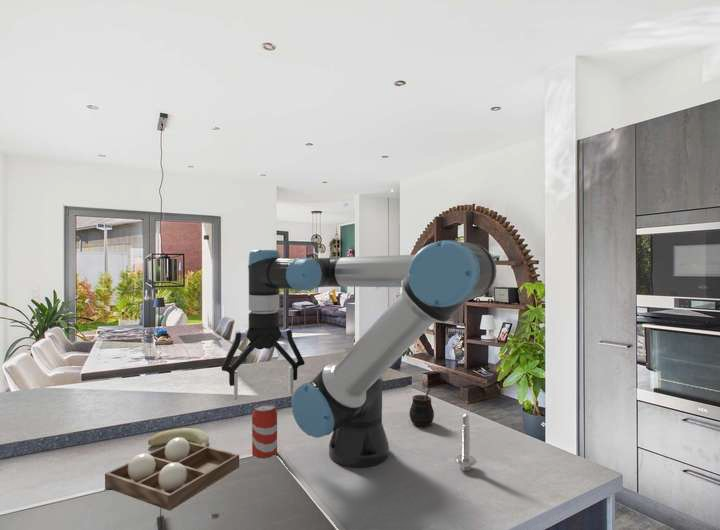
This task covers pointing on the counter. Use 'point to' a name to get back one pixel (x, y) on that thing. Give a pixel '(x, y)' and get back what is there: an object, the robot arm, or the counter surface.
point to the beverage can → (264, 431)
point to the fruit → (185, 433)
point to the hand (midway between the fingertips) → (263, 395)
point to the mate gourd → (421, 410)
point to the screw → (465, 447)
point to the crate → (201, 473)
